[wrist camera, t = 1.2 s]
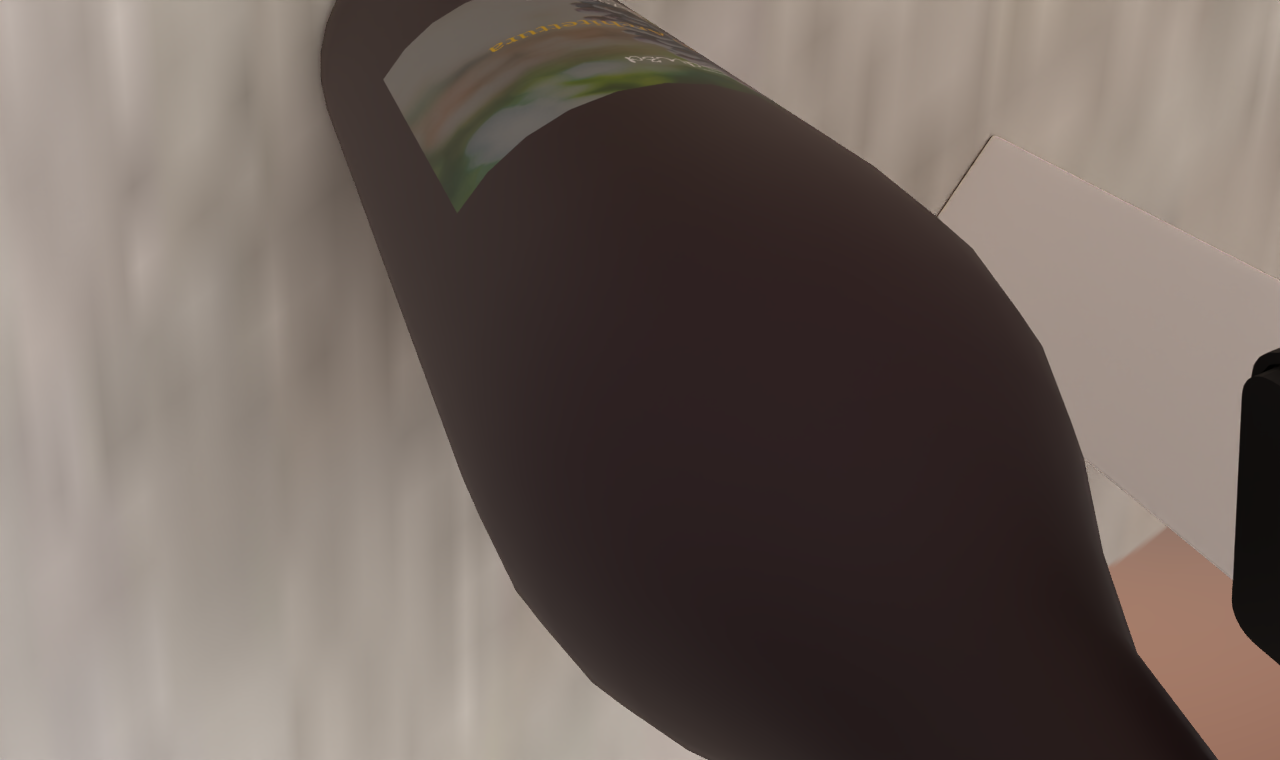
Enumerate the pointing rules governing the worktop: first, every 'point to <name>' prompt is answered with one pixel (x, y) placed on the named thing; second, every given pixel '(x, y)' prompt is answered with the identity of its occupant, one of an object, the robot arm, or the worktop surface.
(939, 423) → the wine bottle
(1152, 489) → the milk
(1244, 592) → the robot arm
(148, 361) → the worktop surface
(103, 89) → the worktop surface
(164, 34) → the worktop surface
